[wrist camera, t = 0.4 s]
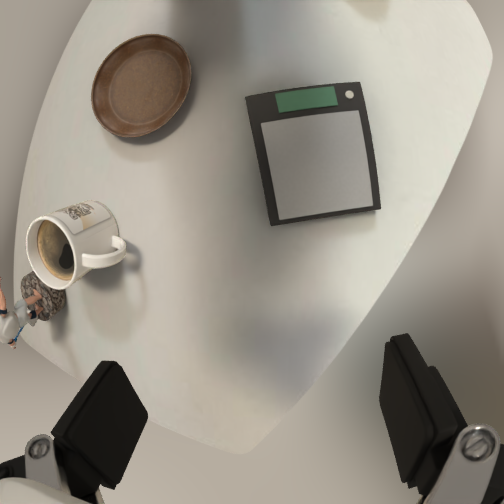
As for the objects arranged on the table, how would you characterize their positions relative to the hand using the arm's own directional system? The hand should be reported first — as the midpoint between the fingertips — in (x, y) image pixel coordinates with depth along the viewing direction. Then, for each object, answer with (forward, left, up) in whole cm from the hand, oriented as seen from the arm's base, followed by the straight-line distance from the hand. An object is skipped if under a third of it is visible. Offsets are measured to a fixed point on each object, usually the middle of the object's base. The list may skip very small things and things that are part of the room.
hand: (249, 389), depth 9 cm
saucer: (-21, -13, -30) cm, 39 cm away
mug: (-2, -26, -30) cm, 40 cm away
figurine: (+6, -43, -30) cm, 53 cm away
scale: (-7, +7, -30) cm, 32 cm away
